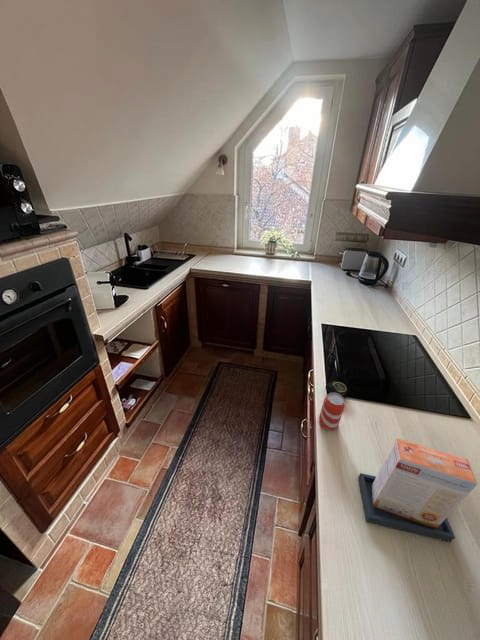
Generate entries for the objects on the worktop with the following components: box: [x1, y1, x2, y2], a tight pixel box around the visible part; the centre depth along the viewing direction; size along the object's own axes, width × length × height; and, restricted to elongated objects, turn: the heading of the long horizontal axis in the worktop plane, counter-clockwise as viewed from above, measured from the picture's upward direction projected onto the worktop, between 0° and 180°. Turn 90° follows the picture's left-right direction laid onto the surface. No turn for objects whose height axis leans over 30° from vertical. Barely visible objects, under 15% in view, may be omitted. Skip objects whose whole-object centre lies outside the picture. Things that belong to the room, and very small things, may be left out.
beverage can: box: [318, 392, 346, 431], centre depth 83 cm, size 6×6×12 cm
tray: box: [357, 472, 456, 543], centre depth 64 cm, size 19×11×2 cm, turn 78°
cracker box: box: [372, 438, 478, 530], centre depth 59 cm, size 14×6×21 cm, turn 69°
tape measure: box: [325, 380, 348, 399], centre depth 97 cm, size 7×7×4 cm
